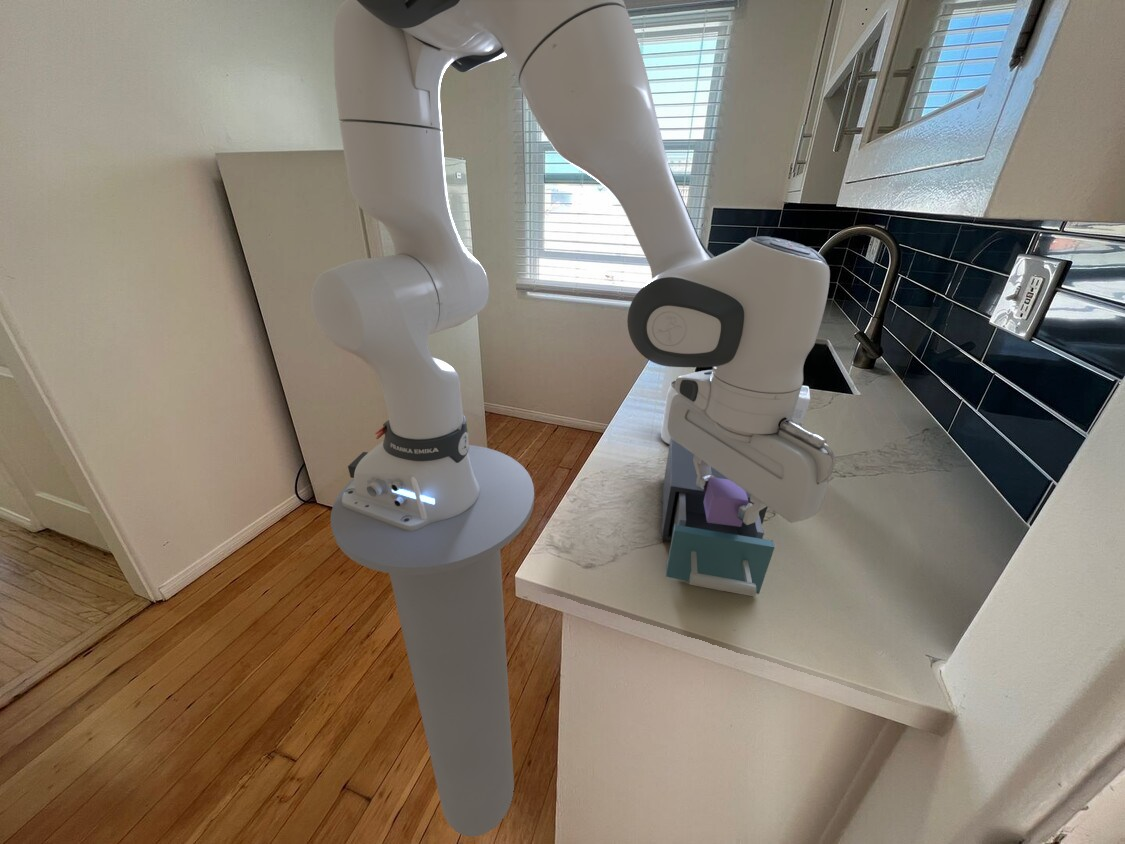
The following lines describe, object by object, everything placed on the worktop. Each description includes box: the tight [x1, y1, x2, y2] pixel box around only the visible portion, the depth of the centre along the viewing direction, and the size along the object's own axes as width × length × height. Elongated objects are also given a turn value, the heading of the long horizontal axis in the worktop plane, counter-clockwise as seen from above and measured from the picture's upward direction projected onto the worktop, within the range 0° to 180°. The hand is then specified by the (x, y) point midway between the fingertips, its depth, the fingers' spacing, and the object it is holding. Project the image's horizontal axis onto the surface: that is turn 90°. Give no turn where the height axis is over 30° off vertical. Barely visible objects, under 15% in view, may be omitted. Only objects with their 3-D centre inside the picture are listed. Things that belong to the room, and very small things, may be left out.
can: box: [660, 380, 677, 446], centre depth 87 cm, size 6×6×12 cm
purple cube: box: [703, 477, 748, 527], centre depth 54 cm, size 4×4×4 cm
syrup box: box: [791, 384, 811, 427], centre depth 81 cm, size 6×6×14 cm
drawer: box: [665, 492, 775, 597], centre depth 58 cm, size 18×11×8 cm, turn 167°
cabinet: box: [661, 438, 768, 542], centre depth 67 cm, size 15×13×10 cm
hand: (723, 502), depth 54 cm, fingers closed on purple cube, 5 cm apart
